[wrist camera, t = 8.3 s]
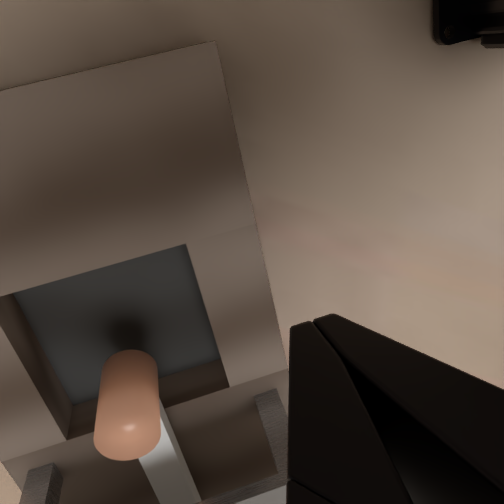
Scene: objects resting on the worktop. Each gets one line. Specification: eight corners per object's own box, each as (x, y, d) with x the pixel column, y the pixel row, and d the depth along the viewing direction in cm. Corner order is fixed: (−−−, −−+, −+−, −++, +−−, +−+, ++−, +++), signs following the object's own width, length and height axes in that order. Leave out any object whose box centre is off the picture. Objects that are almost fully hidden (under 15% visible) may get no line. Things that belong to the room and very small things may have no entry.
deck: (-170, 130, 16) (-221, 142, 14) (206, 42, 17) (215, 40, 15) (151, 637, 33) (152, 680, 31) (327, 569, 34) (340, 605, 32)
